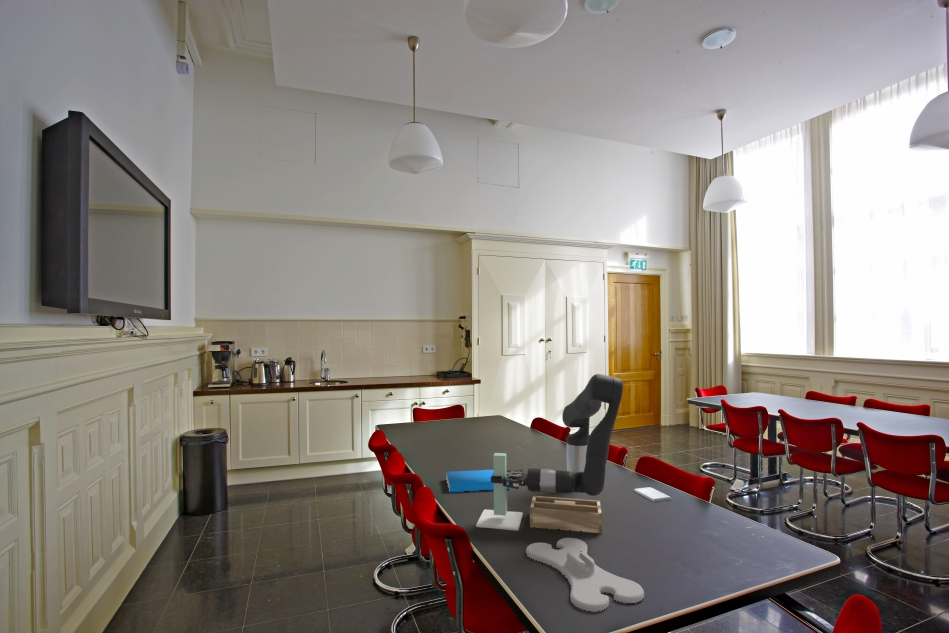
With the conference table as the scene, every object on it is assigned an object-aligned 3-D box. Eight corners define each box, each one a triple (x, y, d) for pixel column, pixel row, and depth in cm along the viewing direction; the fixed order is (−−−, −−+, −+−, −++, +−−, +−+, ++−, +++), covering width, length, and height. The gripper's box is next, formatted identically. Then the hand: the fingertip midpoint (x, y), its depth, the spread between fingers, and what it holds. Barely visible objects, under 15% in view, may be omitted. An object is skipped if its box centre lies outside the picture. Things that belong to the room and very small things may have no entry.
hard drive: (671, 496, 179) (650, 486, 191) (653, 499, 176) (633, 488, 188) (671, 501, 179) (650, 490, 191) (653, 503, 176) (633, 492, 188)
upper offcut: (554, 509, 162) (554, 500, 163) (575, 510, 161) (574, 501, 161) (554, 512, 159) (554, 503, 159) (575, 514, 158) (575, 505, 158)
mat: (484, 511, 168) (484, 509, 168) (522, 514, 165) (522, 512, 165) (476, 526, 154) (476, 525, 154) (518, 530, 151) (518, 528, 151)
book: (445, 471, 204) (501, 468, 207) (445, 481, 204) (501, 478, 207) (449, 484, 187) (510, 480, 191) (449, 495, 187) (510, 490, 190)
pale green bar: (495, 511, 161) (495, 452, 162) (507, 511, 161) (506, 453, 161) (493, 514, 158) (493, 455, 159) (505, 515, 157) (504, 455, 158)
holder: (583, 617, 106) (583, 595, 106) (521, 551, 138) (520, 534, 138) (652, 601, 112) (652, 580, 112) (577, 541, 144) (577, 525, 144)
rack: (533, 512, 166) (533, 495, 166) (599, 518, 161) (599, 500, 161) (529, 527, 154) (529, 508, 154) (601, 533, 149) (601, 514, 149)
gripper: (543, 463, 164) (495, 460, 167) (540, 475, 150) (488, 472, 154) (543, 485, 163) (495, 482, 167) (540, 499, 150) (488, 495, 153)
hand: (492, 477), depth 160 cm, fingers closed on pale green bar, 3 cm apart
